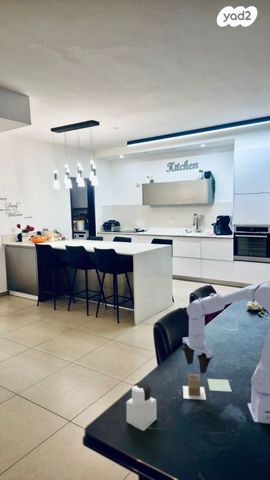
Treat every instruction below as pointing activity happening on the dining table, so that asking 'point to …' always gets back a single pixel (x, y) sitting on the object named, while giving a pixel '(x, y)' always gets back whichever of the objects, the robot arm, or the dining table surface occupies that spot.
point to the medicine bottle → (141, 407)
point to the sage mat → (219, 385)
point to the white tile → (187, 396)
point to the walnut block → (194, 384)
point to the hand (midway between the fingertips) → (196, 368)
